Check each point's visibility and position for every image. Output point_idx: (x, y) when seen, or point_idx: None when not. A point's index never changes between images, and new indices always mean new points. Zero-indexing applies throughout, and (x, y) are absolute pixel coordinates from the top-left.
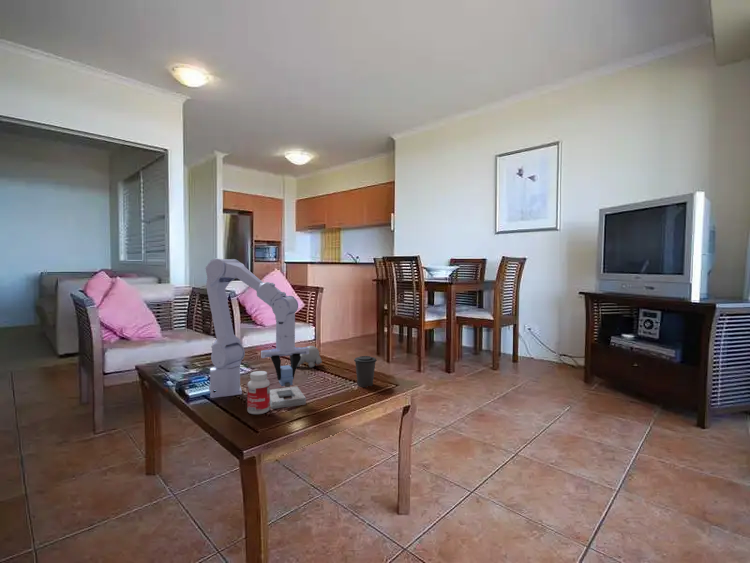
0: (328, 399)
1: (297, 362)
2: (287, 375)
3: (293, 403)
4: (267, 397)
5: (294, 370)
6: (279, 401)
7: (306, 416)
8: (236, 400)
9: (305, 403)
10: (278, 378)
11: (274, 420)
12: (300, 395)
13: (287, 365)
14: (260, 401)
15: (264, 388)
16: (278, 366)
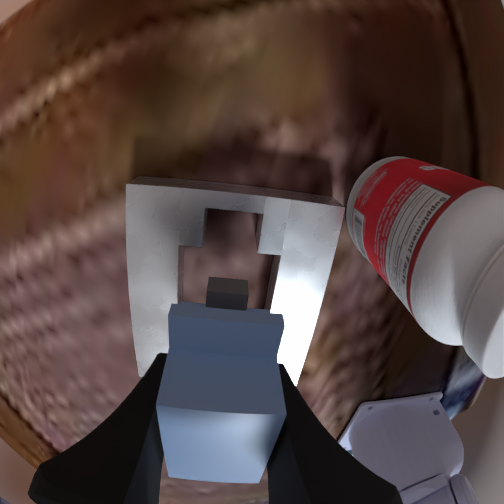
0: (27, 199)
1: (82, 450)
2: (217, 362)
3: (209, 184)
4: (408, 179)
5: (137, 397)
6: (300, 200)
7: (199, 6)
8: (401, 361)
9: (139, 177)
10: (286, 372)
11: (367, 44)
12: (145, 241)
13: (186, 476)
14: (441, 167)
15: (473, 184)
16: (316, 453)
